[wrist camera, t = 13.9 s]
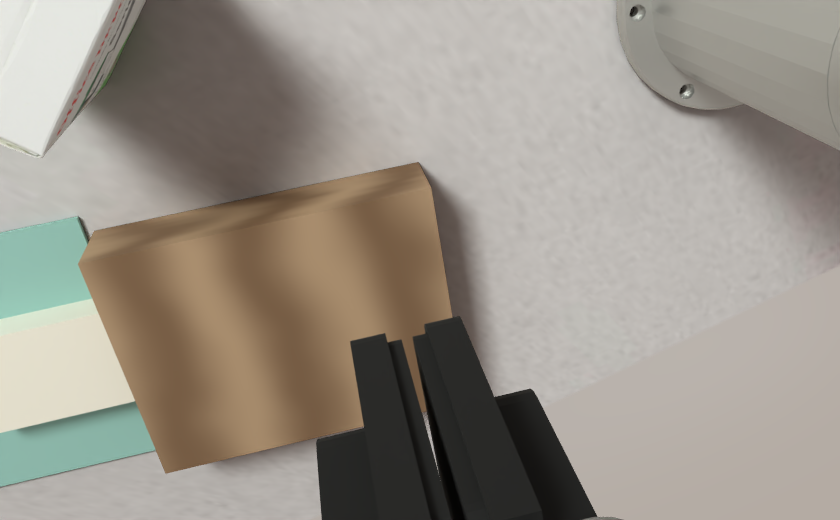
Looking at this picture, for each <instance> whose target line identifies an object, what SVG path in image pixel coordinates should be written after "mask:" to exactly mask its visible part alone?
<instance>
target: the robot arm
mask: <svg viewBox="0 0 840 520" xmlns="http://www.w3.org/2000/svg"><path fill="white" fill-rule="evenodd" d="M633 6H634V9H635V10H634V13H633V14H632V15H629V14H630V10H631V9H632V7H633ZM617 25H618V30H619V36H620V41H621V44H622V46H623V49H624V51H625V54H626V57H627V59H628V61H629V63H630V64H631V66H632V67H633V69H634V70H635V72H636V73H637V75H638V76H639V77H640V78H641V79H642V80H643V81H644V82H645V83H646V84H647V85H648V86H649V87H650V88H651V89H652V90H654V91H656V92H657V93H659V94H660V95H662V96H663V97H665V98H667V99H669V100H671V101H673V102H675V103H677V104H679V105H682V106H686V107H691V108H696V109H701V110H718V109H726V108H731V107H736V106H740V105H744V104H746V105H748V106H750V107H752V108H754V109H756V110H758V111H760V112H762V113H764V114H766V115H768V116H770V117H772V118H774V119H776V120H778V121H780V122H782V123H784V124H786V125H789V126H791V127H793V128H795V129H797V130H799V131H801V132H803V133H805V134H807V135H809V136H811V137H813V138H815V139H817V140H819V141H821V142H823V143H825V144H827V145H829V146H831V147H833V148H835V149H837V150H839V151H840V0H617ZM682 86H683V89H682V90H681V91H680V89H681V88H682ZM424 329H425V334H422V335H417V336H413V343H414V349H415V354H416V359H417V364H418V369H419V374H420V379H421V384H422V389H423V395H424V400H425V405H426V410H427V415H428V420H429V425H430V430H431V435H432V441H433V446H434V451H435V456H436V461H437V466H438V470H437V466H436V463H435V459H434V455H433V452H432V448H431V444H430V441H429V437H428V433H427V430H426V426H425V423H424V419H423V415H422V412H421V408H420V405H419V401H418V397H417V394H416V390H415V386H414V383H413V379H412V376H411V372H410V368H409V365H408V361H407V357H406V354H405V350H404V347H403V343H402V340H401V339H400V340H396V341H391V342H387V338H386V334H385V333H383V334H379V335H374V336H370V337H366V338H361V339H357V340H352V341H350V345H351V351H352V357H353V363H354V369H355V376H356V382H357V388H358V394H359V400H360V406H361V412H362V418H363V424H364V428H363V429H359V430H355V431H351V432H346V433H342V434H338V435H334V436H330V437H326V438H321V439H317V442H316V445H317V462H318V475H319V488H320V501H321V514H322V520H622V519H618V518H614V517H597V515H596V513H595V511H594V509H593V507H592V505H591V503H590V501H589V499H588V497H587V495H586V493H585V491H584V489H583V487H582V485H581V484H580V482H579V479H578V477H577V475H576V473H575V472H574V469H573V467H572V466H571V463H570V462H569V460H568V457H567V455H566V454H565V452H564V450H563V448H562V446H561V444H560V442H559V440H558V438H557V436H556V434H555V432H554V430H553V428H552V426H551V424H550V422H549V420H548V418H547V416H546V414H545V412H544V410H543V408H542V406H541V404H540V402H539V400H538V398H537V396H536V395H535V393H534V391H533V390H531V389H527V390H523V391H518V392H514V393H510V394H506V395H502V396H497V397H494V396H493V393H492V391H491V388H490V386H489V384H488V381H487V379H486V377H485V374H484V372H483V369H482V367H481V365H480V362H479V360H478V358H477V355H476V353H475V350H474V348H473V346H472V343H471V341H470V339H469V336H468V334H467V332H466V329H465V327H464V324H463V322H462V320H461V318H460V317H459V316H457V317H453V318H448V319H444V320H440V321H435V322H431V323H427V324H424ZM438 471H439V473H438ZM439 476H440V477H439ZM440 480H441V481H440Z"/></svg>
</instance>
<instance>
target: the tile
mask: <svg viewBox="0 0 840 520" xmlns="http://www.w3.org/2000/svg"><path fill="white" fill-rule="evenodd" d="M134 401H135V399H134V397H133V395H132V392H131V390H130V387H129V385H128V383H127V380H126V378H125V376H124V373H123V371H122V368H121V366H120V364H119V361H118V359H117V356H116V354H115V352H114V349H113V347H112V345H111V342H110V340H109V337H108V335H107V333H106V330H105V328H104V325H103V323H102V321H101V318H100V316H99V314H98V311H97V309H96V306H95V304H94V302H93V299H88V300H83V301H79V302H75V303H70V304H66V305H61V306H57V307H52V308H48V309H43V310H39V311H34V312H30V313H26V314H21V315H17V316H12V317H8V318H3V319H0V433H3V432H7V431H11V430H15V429H20V428H24V427H28V426H32V425H37V424H41V423H45V422H49V421H54V420H58V419H62V418H66V417H70V416H75V415H79V414H83V413H87V412H92V411H96V410H100V409H104V408H109V407H113V406H117V405H121V404H126V403H130V402H134Z"/></svg>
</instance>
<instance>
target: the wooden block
mask: <svg viewBox="0 0 840 520" xmlns="http://www.w3.org/2000/svg"><path fill="white" fill-rule="evenodd" d="M78 266H79V268H80V271H81V273H82V275H83V278H84V280H85V283H86V285H87V287H88V290H89V292H90V295H91V297H92V299H93V302H94V304H95V306H96V309H97V311H98V314H99V316H100V318H101V321H102V323H103V325H104V328H105V330H106V333H107V335H108V337H109V340H110V342H111V345H112V347H113V349H114V352H115V354H116V356H117V359H118V361H119V364H120V366H121V368H122V371H123V373H124V376H125V378H126V380H127V383H128V385H129V387H130V390H131V392H132V395H133V397H134V399H135V402H136V404H137V406H138V409H139V411H140V414H141V416H142V418H143V421H144V423H145V426H146V428H147V430H148V433H149V435H150V437H151V440H152V442H153V445H154V447H155V449H156V452H157V454H158V456H159V459H160V461H161V464H162V466H163V468H164V471H165V473H170V472H174V471H178V470H183V469H187V468H191V467H195V466H199V465H204V464H208V463H212V462H216V461H220V460H225V459H229V458H233V457H237V456H241V455H246V454H250V453H254V452H258V451H262V450H267V449H271V448H275V447H279V446H283V445H288V444H292V443H296V442H300V441H304V440H309V439H313V438H317V437H321V436H325V435H330V434H334V433H338V432H342V431H346V430H351V429H355V428H359V427H363V426H364V424H363V418H362V412H361V406H360V400H359V394H358V388H357V382H356V376H355V369H354V363H353V357H352V351H351V345H350V341H352V340H357V339H361V338H366V337H370V336H374V335H379V334H383V333H385V334H386V338H387V342H391V341H396V340H400V339H401V340H402V343H403V347H404V350H405V354H406V357H407V361H408V365H409V368H410V372H411V376H412V379H413V383H414V386H415V390H416V394H417V397H418V401H419V405H420V408H421V412H426V411H427V410H426V405H425V400H424V395H423V389H422V384H421V379H420V374H419V369H418V364H417V359H416V354H415V349H414V343H413V336H417V335H422V334H425V329H424V324H427V323H431V322H435V321H440V320H444V319H448V318H453V317H452V311H451V305H450V299H449V293H448V287H447V281H446V275H445V268H444V262H443V256H442V250H441V244H440V238H439V232H438V226H437V220H436V213H435V207H434V201H433V195H432V189H431V186H430V184H429V182H428V180H427V178H426V176H425V174H424V172H423V170H422V168H421V166H420V164H419V162H417V163H412V164H407V165H403V166H398V167H393V168H389V169H384V170H379V171H374V172H370V173H365V174H360V175H356V176H351V177H346V178H341V179H337V180H332V181H327V182H323V183H318V184H313V185H308V186H304V187H299V188H294V189H290V190H285V191H280V192H275V193H271V194H266V195H261V196H257V197H252V198H247V199H243V200H238V201H233V202H228V203H224V204H219V205H214V206H210V207H205V208H200V209H195V210H191V211H186V212H181V213H177V214H172V215H167V216H162V217H158V218H153V219H148V220H144V221H139V222H134V223H130V224H125V225H120V226H115V227H111V228H106V229H101V230H97V231H94V232H93V234H92V236H91V238H90V240H89V242H88V245H87V247H86V249H85V251H84V253H83V255H82V257H81V259H80V261H79V263H78Z"/></svg>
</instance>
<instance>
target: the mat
mask: <svg viewBox="0 0 840 520" xmlns="http://www.w3.org/2000/svg"><path fill="white" fill-rule="evenodd" d="M87 245H88V239H87V237H86V234H85V232H84V230H83V227H82V225H81V222H80V220H79V217H73V218H68V219H63V220H59V221H54V222H49V223H44V224H40V225H35V226H30V227H25V228H21V229H16V230H11V231H6V232H2V233H0V319H3V318H8V317H12V316H17V315H21V314H26V313H30V312H34V311H39V310H43V309H48V308H52V307H57V306H61V305H66V304H70V303H75V302H79V301H83V300H88V299H92V297H91V295H90V292H89V290H88V287H87V285H86V283H85V280H84V278H83V275H82V273H81V271H80V268H79V266H78V263H79V261H80V259H81V257H82V255H83V253H84V251H85V249H86V247H87ZM154 450H156V449H155V447H154V445H153V442H152V440H151V437H150V435H149V433H148V430H147V428H146V426H145V423H144V421H143V418H142V416H141V414H140V411H139V409H138V406H137V404H136V402H135V401H134V402H130V403H126V404H121V405H117V406H113V407H109V408H104V409H100V410H96V411H92V412H87V413H83V414H79V415H75V416H70V417H66V418H62V419H58V420H54V421H49V422H45V423H41V424H37V425H32V426H28V427H24V428H20V429H15V430H11V431H7V432H3V433H0V487H1V486H5V485H10V484H14V483H18V482H22V481H27V480H31V479H35V478H39V477H44V476H48V475H52V474H56V473H60V472H65V471H69V470H73V469H77V468H82V467H86V466H90V465H94V464H99V463H103V462H107V461H111V460H116V459H120V458H124V457H128V456H133V455H137V454H141V453H145V452H150V451H154Z"/></svg>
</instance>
